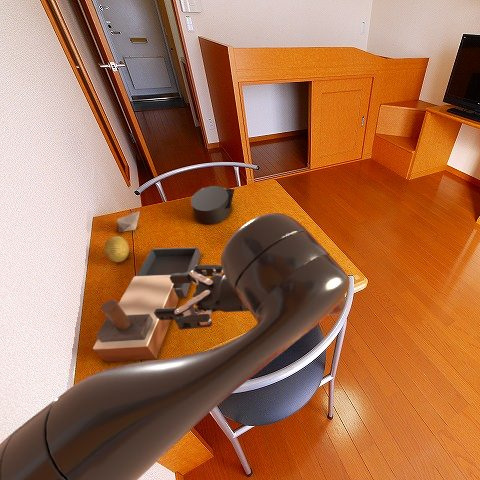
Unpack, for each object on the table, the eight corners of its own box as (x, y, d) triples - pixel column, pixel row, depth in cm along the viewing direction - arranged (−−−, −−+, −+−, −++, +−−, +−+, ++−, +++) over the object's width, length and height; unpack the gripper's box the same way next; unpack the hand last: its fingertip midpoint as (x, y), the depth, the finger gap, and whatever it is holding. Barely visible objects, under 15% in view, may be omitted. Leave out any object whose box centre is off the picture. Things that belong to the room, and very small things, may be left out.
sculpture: (121, 250, 90) (110, 231, 85) (134, 249, 90) (124, 230, 85) (110, 268, 84) (97, 248, 79) (124, 267, 84) (112, 247, 79)
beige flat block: (156, 358, 63) (146, 345, 59) (105, 361, 62) (92, 348, 58) (182, 288, 79) (176, 274, 75) (142, 290, 78) (134, 276, 74)
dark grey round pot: (190, 227, 102) (184, 211, 96) (201, 198, 114) (196, 183, 109) (230, 227, 103) (227, 211, 98) (236, 198, 116) (234, 183, 111)
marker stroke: (177, 284, 78) (177, 285, 79) (163, 281, 77) (163, 281, 78) (175, 288, 78) (175, 288, 78) (162, 284, 77) (162, 285, 77)
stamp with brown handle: (145, 339, 60) (126, 314, 54) (101, 342, 59) (77, 317, 53) (153, 319, 64) (137, 294, 58) (112, 322, 63) (91, 296, 57)
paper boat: (104, 231, 95) (114, 211, 100) (123, 240, 99) (132, 220, 105) (124, 220, 90) (133, 199, 95) (143, 229, 94) (151, 209, 100)
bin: (185, 297, 76) (182, 289, 74) (131, 299, 75) (126, 292, 73) (200, 254, 89) (198, 247, 87) (155, 256, 88) (151, 248, 86)
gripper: (248, 254, 59) (169, 256, 57) (239, 310, 48) (141, 315, 47) (253, 278, 64) (180, 280, 62) (245, 333, 53) (157, 338, 51)
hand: (164, 295), depth 54 cm, fingers open, 8 cm apart
